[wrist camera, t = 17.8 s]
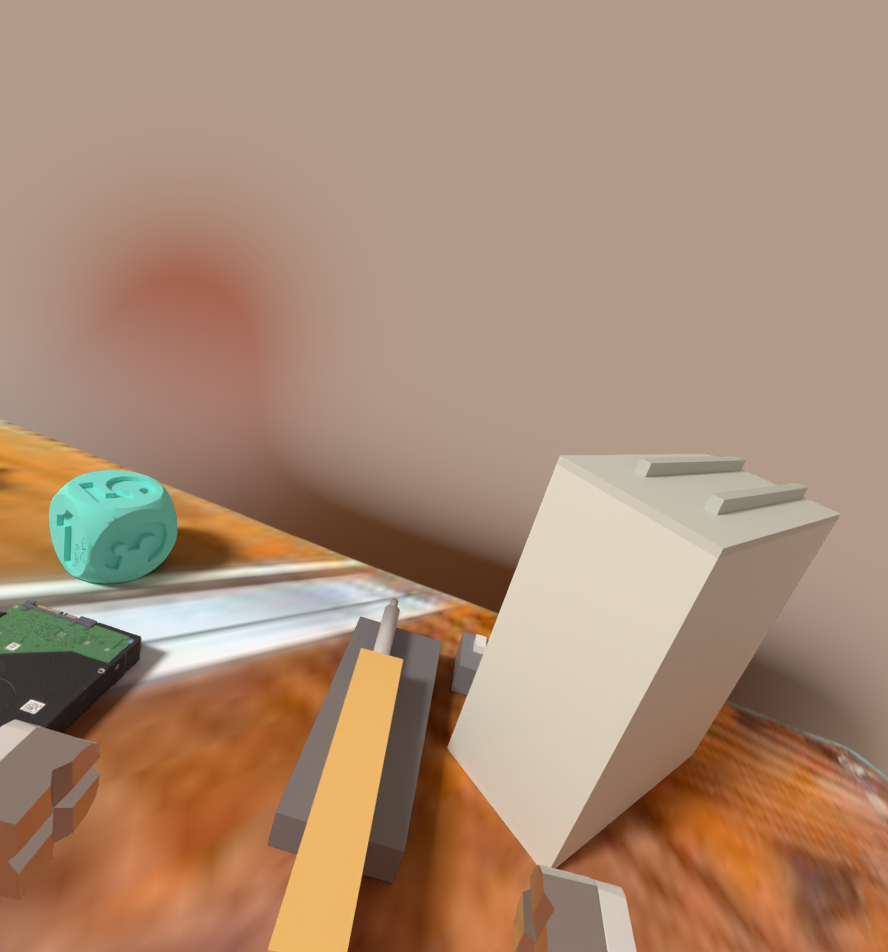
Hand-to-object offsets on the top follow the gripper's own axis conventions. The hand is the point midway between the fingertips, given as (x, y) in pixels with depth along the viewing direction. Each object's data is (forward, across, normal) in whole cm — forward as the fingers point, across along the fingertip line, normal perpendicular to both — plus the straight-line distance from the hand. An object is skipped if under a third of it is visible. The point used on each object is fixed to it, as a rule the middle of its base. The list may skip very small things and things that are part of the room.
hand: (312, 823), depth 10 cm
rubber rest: (+25, 0, -25) cm, 36 cm away
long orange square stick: (+22, -1, -22) cm, 31 cm away
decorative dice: (+37, -29, -25) cm, 53 cm away
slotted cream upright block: (+30, +18, -26) cm, 44 cm away
